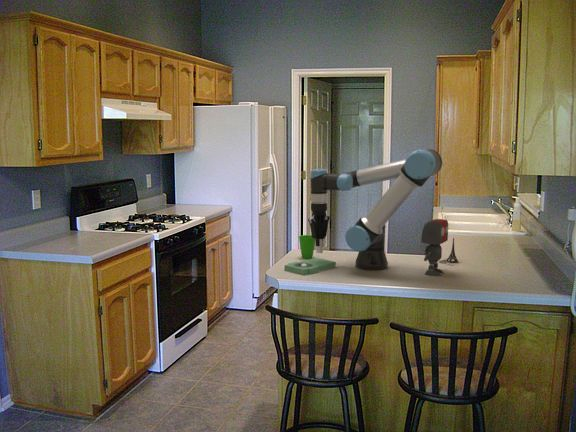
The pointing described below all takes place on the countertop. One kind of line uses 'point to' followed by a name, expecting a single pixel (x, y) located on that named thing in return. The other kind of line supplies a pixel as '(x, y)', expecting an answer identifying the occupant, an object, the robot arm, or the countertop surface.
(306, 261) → the green flat slab
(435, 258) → the toy robot
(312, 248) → the cup
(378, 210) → the robot arm
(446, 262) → the eiffel tower figurine
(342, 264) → the countertop surface
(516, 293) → the countertop surface
